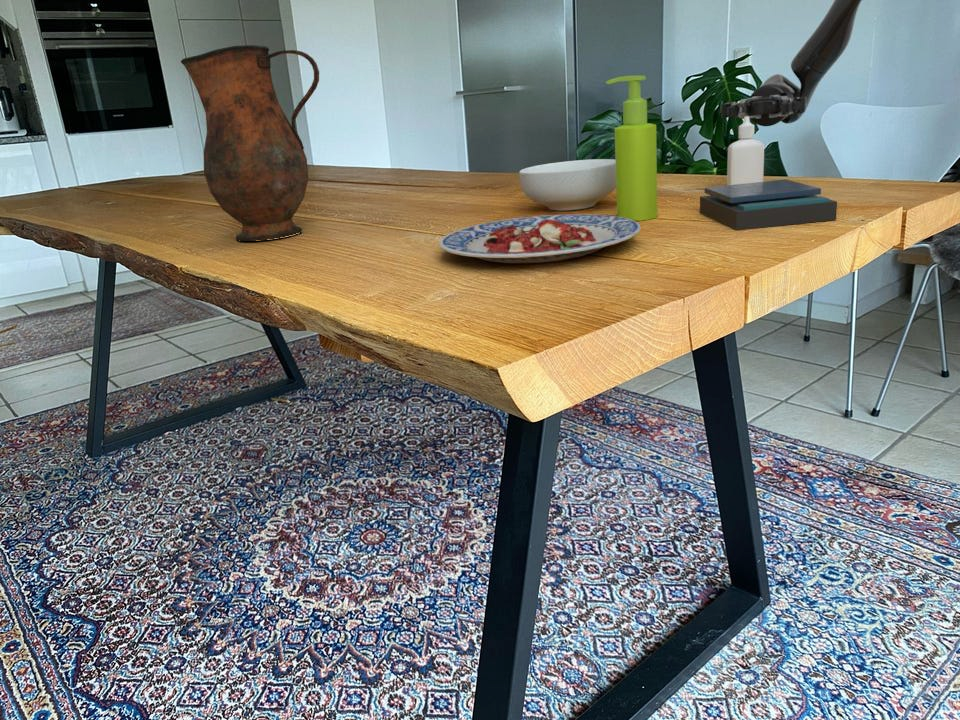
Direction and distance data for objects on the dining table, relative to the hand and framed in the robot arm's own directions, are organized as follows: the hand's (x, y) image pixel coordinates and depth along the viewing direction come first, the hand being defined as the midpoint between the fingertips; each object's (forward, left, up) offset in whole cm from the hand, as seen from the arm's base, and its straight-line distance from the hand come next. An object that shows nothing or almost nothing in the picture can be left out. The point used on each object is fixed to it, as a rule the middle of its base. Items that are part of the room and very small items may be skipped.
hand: (757, 110), depth 129 cm
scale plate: (+12, +31, -9) cm, 35 cm away
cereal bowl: (+35, +8, -12) cm, 38 cm away
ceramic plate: (+44, +40, -12) cm, 60 cm away
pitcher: (+85, +7, -12) cm, 86 cm away
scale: (+12, +33, -12) cm, 37 cm away
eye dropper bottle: (+6, +10, -12) cm, 17 cm away
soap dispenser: (+28, +24, -12) cm, 38 cm away
